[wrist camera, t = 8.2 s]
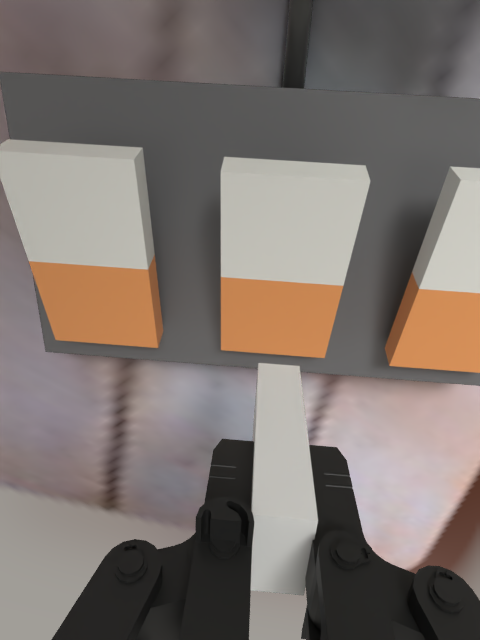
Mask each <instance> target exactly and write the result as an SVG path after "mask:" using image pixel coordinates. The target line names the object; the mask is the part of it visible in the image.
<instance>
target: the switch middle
mask: <svg viewBox="0 0 480 640" xmlns="http://www.w3.org/2000/svg"><path fill="white" fill-rule="evenodd" d="M369 185H370V178H369V175H368V171H367V168H366V165H350V164H334V163H318V162H302V161H286V160H269V159H253V158H237V157H224V160H223V164H222V168H221V350H225V351H238V352H251V353H264V354H277V355H290V356H303V357H316V358H325V355H326V351H327V347H328V343H329V339H330V335H331V332H332V328H333V324H334V320H335V316H336V312H337V309H338V305H339V301H340V297H341V293H342V289H343V285H344V282H345V278H346V274H347V270H348V266H349V262H350V258H351V255H352V251H353V247H354V243H355V239H356V235H357V231H358V228H359V224H360V220H361V216H362V212H363V208H364V204H365V201H366V197H367V193H368V189H369Z"/></svg>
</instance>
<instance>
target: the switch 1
mask: <svg viewBox="0 0 480 640" xmlns="http://www.w3.org/2000/svg"><path fill="white" fill-rule="evenodd" d="M0 179H1V182H2V185H3V188H4V191H5V194H6V196H7V199H8V202H9V205H10V208H11V211H12V214H13V217H14V220H15V223H16V226H17V229H18V232H19V234H20V237H21V240H22V243H23V246H24V249H25V252H26V255H27V258H28V261H29V264H30V267H31V270H32V272H33V275H34V278H35V281H36V284H37V287H38V290H39V293H40V296H41V299H42V302H43V305H44V308H45V310H46V313H47V316H48V319H49V322H50V325H51V328H52V331H53V334H54V337H55V340H61V341H74V342H87V343H99V344H112V345H125V346H138V347H151V348H158V347H159V343H160V340H161V337H162V334H163V324H162V315H161V306H160V297H159V288H158V279H157V270H156V262H155V253H154V244H153V235H152V226H151V217H150V208H149V199H148V190H147V181H146V172H145V164H144V155H143V148H142V147H125V146H109V145H93V144H76V143H60V142H44V141H28V140H11V139H7V140H6V141H4V142H3V143H1V144H0Z"/></svg>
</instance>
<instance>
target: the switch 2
mask: <svg viewBox="0 0 480 640" xmlns="http://www.w3.org/2000/svg"><path fill="white" fill-rule="evenodd" d="M385 351H386V355H387V359H388V363H389V366H397V367H410V368H423V369H436V370H449V371H462V372H475V373H480V168H467V167H451V166H450V168H449V171H448V173H447V176H446V179H445V182H444V185H443V187H442V190H441V193H440V196H439V198H438V201H437V204H436V207H435V210H434V212H433V215H432V218H431V221H430V223H429V226H428V229H427V232H426V235H425V237H424V240H423V243H422V246H421V248H420V251H419V254H418V257H417V260H416V262H415V265H414V268H413V271H412V273H411V276H410V279H409V282H408V285H407V287H406V290H405V293H404V296H403V298H402V301H401V304H400V307H399V310H398V312H397V315H396V318H395V321H394V324H393V326H392V329H391V332H390V335H389V337H388V340H387V343H386V346H385Z"/></svg>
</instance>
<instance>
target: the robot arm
mask: <svg viewBox="0 0 480 640" xmlns="http://www.w3.org/2000/svg"><path fill="white" fill-rule="evenodd" d="M305 587H306V591H307V592H306V594H307V608H306V613H305V618H304V623H303V628H302V637H301V639H306V640H480V601H479V599H478V597H477V596H476V594H475V593H474V591H473V590H472V589H471V588H470V587H469V585H468V584H467V583H466V582H465V581H464V580H463V579H462V578H461V577H459V576H458V575H457V574H455V573H454V572H452V571H450V570H448V569H445V568H443V567H440V566H426V567H424V568H421V569H419V570H418V572H417V573H416V574H414V573H412V572H409V571H407V570H404V569H402V568H399V567H397V566H394V565H392V564H390V563H388V562H386V561H384V560H383V559H382V558H380V557H379V556H378V555H377V554H376V553H375V552H374V551H373V550H372V548H371V547H370V546H369V545H368V544H367V542H366V540H365V538H364V535H363V532H362V527H361V523H360V518H359V514H358V510H357V505H356V501H355V496H354V492H353V489H352V483H351V478H350V474H349V469H348V465H347V460H346V459H345V458H344V456H343V455H342V454H341V452H340V451H339V450H338V448H337V447H326V446H314V445H309V441H308V432H307V424H306V416H305V407H304V399H303V391H302V382H301V374H300V366H293V365H280V364H267V363H258V375H257V386H256V398H255V410H254V423H253V441H242V440H230V439H222V440H221V441H220V442H219V444H218V445H217V446H216V448H215V449H214V450H213V456H212V462H211V468H210V474H209V480H208V486H207V492H206V498H205V504H204V505H203V506H202V507H200V509H199V511H198V513H197V516H196V533H195V534H194V535H193V536H192V537H191V538H190V539H188V540H186V541H185V542H183V543H181V544H178V545H175V546H171V547H167V548H163V549H158V550H157V549H156V547H155V546H154V545H152V544H150V543H149V542H147V541H144V540H136V539H134V540H130V541H126V542H122V543H121V544H119V545H117V546H116V547H114V548H113V549H112V550H111V551H110V552H109V553H108V554H107V555H106V556H105V558H104V559H103V561H102V562H101V564H100V565H99V567H98V569H97V570H96V572H95V573H94V575H93V576H92V578H91V580H90V581H89V582H88V584H87V586H86V587H85V589H84V590H83V592H82V593H81V595H80V597H79V598H78V600H77V601H76V603H75V604H74V606H73V607H72V609H71V611H70V612H69V614H68V615H67V617H66V618H65V620H64V621H63V623H62V625H61V626H60V628H59V629H58V631H57V632H56V634H55V635H54V637H53V639H52V640H249V617H250V616H249V615H250V590H252V591H263V592H273V593H285V594H295V595H304V591H305Z"/></svg>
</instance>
